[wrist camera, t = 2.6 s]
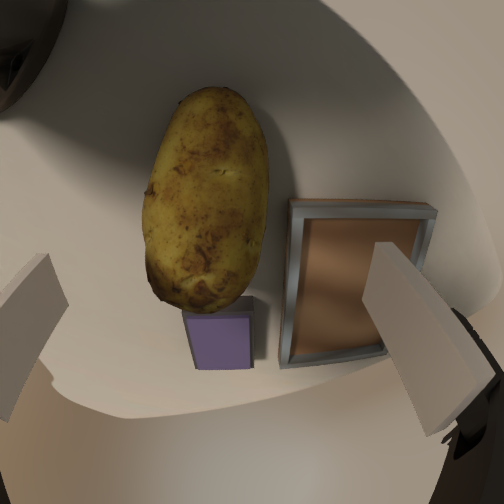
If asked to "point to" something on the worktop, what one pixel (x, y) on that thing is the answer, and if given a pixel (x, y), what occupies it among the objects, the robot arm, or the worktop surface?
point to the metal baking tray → (340, 274)
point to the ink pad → (222, 336)
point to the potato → (206, 203)
